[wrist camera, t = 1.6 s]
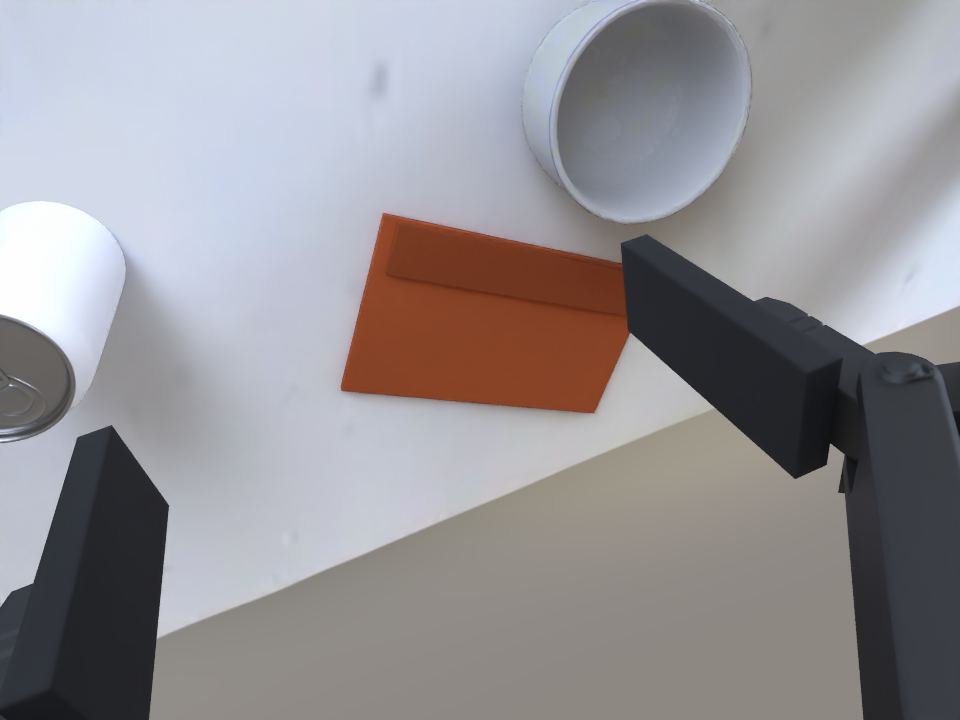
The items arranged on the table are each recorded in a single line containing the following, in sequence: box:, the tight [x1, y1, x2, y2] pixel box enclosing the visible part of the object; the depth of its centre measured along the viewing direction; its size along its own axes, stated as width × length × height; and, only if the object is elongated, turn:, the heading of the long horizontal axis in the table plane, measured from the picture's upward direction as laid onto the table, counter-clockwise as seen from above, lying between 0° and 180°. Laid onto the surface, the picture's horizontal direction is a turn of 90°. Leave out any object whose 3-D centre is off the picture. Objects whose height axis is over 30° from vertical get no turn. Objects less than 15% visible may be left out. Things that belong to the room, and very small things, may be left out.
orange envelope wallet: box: [341, 213, 630, 413], centre depth 44 cm, size 20×12×1 cm, turn 72°
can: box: [0, 202, 126, 443], centre depth 28 cm, size 6×6×12 cm
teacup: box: [521, 0, 752, 224], centre depth 34 cm, size 14×11×8 cm
